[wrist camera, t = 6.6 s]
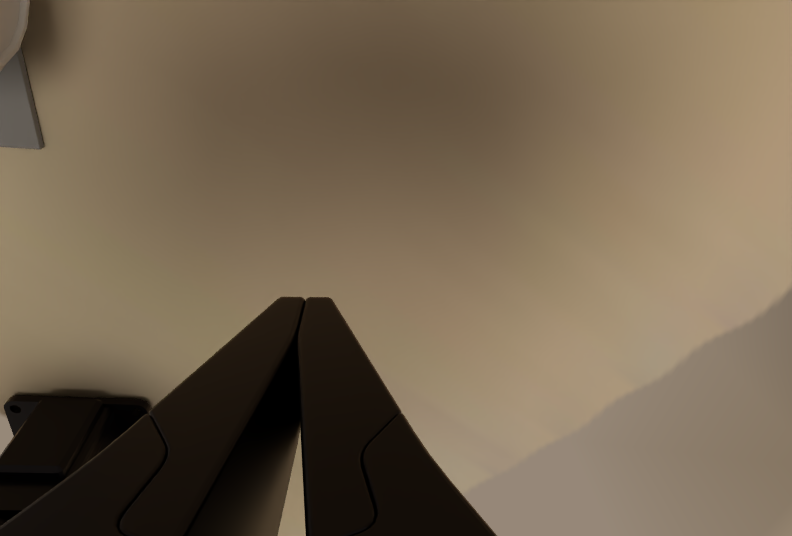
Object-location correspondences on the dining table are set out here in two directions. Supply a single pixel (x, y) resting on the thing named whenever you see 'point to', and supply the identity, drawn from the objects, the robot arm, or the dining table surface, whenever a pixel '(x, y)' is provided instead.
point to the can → (12, 27)
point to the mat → (18, 107)
